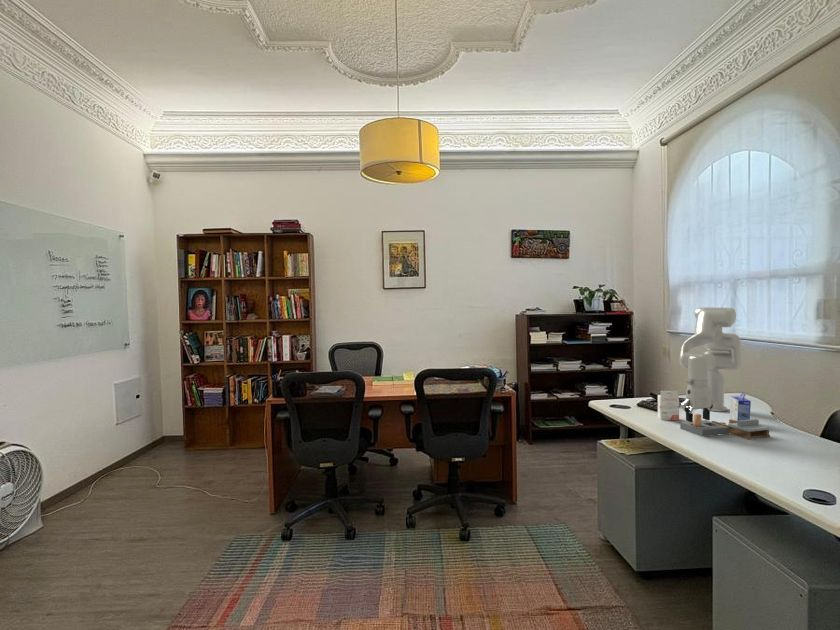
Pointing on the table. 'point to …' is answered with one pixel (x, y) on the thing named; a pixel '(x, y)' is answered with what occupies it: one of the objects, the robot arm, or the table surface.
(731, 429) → the box
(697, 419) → the peg
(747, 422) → the lid
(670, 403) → the ink cartridge box
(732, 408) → the ink cartridge box
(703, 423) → the socket board
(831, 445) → the table surface
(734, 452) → the table surface
